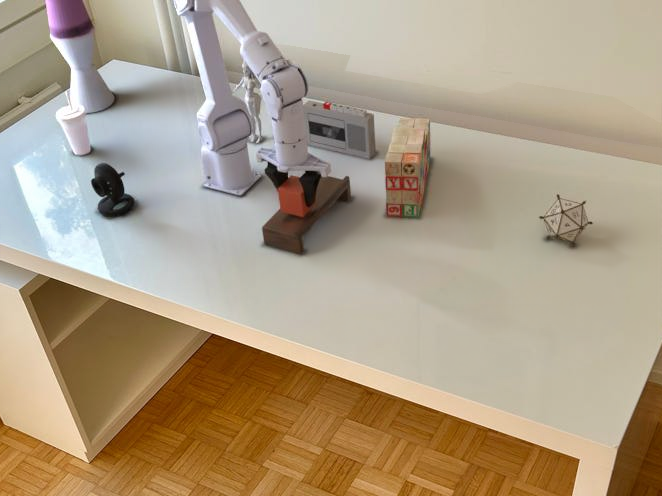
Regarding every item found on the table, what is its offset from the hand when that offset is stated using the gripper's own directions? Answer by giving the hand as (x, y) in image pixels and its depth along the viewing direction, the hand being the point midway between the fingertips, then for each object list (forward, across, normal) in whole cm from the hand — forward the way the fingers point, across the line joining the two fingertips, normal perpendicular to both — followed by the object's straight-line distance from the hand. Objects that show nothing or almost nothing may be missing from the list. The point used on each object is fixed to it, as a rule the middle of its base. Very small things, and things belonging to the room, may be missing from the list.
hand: (297, 200), depth 163 cm
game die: (+7, +46, +16) cm, 49 cm away
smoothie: (+7, -61, +7) cm, 62 cm away
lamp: (+7, -74, +26) cm, 79 cm away
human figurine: (+7, -26, +26) cm, 37 cm away
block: (+1, 0, 0) cm, 1 cm away
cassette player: (+7, -7, +29) cm, 31 cm away
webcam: (+7, -39, -8) cm, 40 cm away
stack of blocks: (+7, +13, +21) cm, 26 cm away
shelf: (+6, 0, +3) cm, 7 cm away
